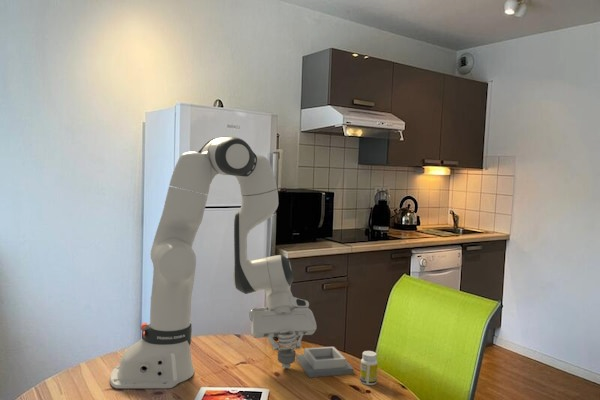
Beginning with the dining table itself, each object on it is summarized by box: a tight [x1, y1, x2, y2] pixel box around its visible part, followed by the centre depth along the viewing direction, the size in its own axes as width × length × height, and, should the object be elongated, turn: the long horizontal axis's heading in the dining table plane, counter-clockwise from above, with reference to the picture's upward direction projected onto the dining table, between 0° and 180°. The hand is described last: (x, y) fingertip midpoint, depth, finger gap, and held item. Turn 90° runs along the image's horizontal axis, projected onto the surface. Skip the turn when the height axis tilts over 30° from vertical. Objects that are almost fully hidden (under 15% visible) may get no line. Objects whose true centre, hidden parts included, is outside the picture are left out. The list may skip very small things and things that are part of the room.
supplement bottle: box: [359, 350, 379, 386], centre depth 130 cm, size 5×5×8 cm
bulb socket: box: [295, 346, 354, 378], centre depth 140 cm, size 14×13×4 cm
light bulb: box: [277, 329, 298, 370], centre depth 136 cm, size 6×6×12 cm
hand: (287, 348), depth 136 cm, fingers closed on light bulb, 5 cm apart
